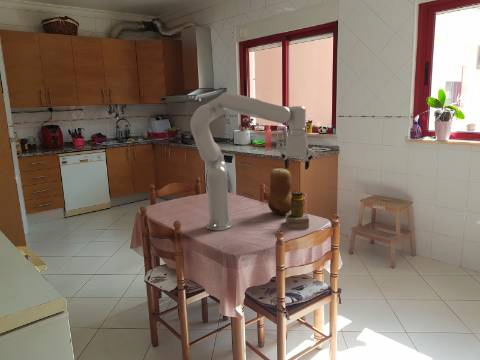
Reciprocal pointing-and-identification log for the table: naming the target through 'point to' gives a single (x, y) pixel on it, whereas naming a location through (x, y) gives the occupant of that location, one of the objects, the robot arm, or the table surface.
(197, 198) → the table surface
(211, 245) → the table surface
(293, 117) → the robot arm
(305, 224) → the beige square block
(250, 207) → the table surface
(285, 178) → the butternut squash
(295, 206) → the condiment
